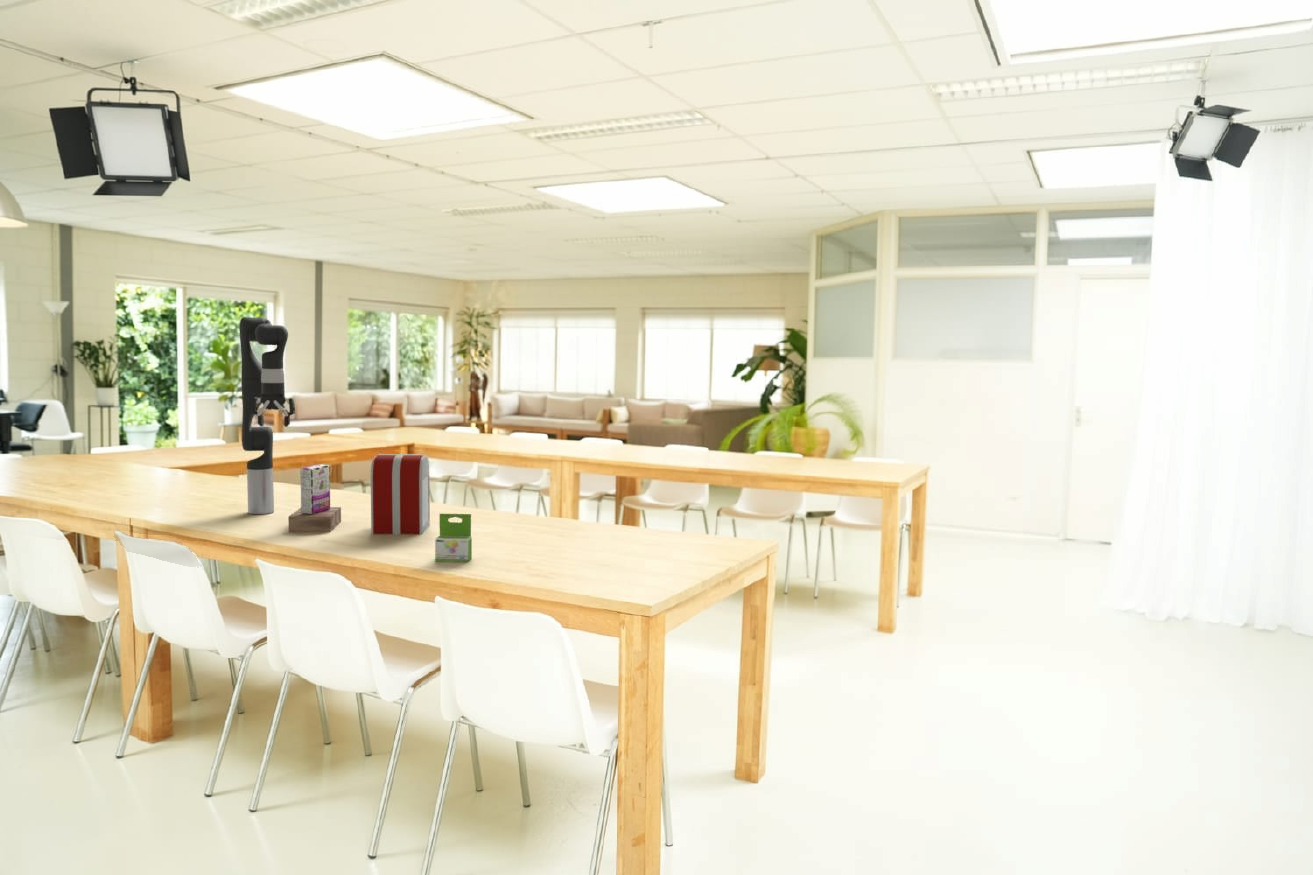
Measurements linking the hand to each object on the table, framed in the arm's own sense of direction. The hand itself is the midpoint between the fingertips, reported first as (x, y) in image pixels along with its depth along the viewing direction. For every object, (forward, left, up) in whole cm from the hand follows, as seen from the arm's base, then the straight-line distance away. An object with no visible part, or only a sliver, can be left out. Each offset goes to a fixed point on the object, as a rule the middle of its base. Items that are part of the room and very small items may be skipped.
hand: (274, 426), depth 313 cm
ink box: (+57, +70, -36) cm, 97 cm away
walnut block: (+6, +15, -36) cm, 40 cm away
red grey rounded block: (+11, +46, -36) cm, 60 cm away
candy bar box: (+6, +15, -30) cm, 34 cm away
